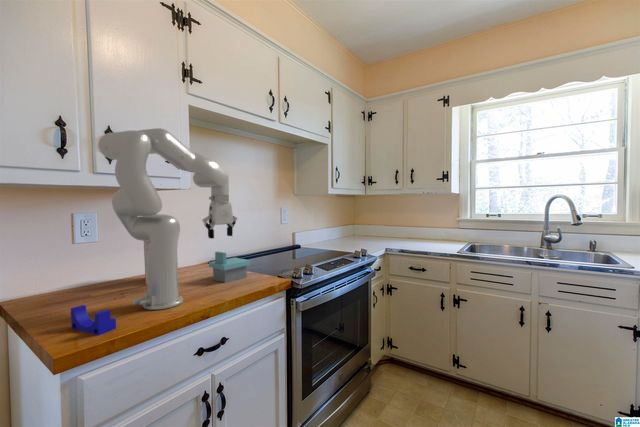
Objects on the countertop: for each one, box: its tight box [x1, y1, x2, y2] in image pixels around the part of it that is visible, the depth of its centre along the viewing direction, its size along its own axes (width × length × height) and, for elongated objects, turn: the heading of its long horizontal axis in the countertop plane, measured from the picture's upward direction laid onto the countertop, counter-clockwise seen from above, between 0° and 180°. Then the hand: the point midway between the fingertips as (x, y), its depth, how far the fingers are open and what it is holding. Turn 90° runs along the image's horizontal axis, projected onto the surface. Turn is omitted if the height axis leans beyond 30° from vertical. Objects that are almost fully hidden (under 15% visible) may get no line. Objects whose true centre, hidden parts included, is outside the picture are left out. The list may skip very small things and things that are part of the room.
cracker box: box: [143, 241, 151, 286], centre depth 132 cm, size 14×6×21 cm, turn 25°
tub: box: [212, 265, 248, 284], centre depth 137 cm, size 12×9×7 cm
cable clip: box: [70, 304, 117, 336], centre depth 83 cm, size 12×4×6 cm, turn 69°
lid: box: [208, 251, 251, 270], centre depth 136 cm, size 15×12×7 cm
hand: (220, 237), depth 132 cm, fingers open, 9 cm apart
